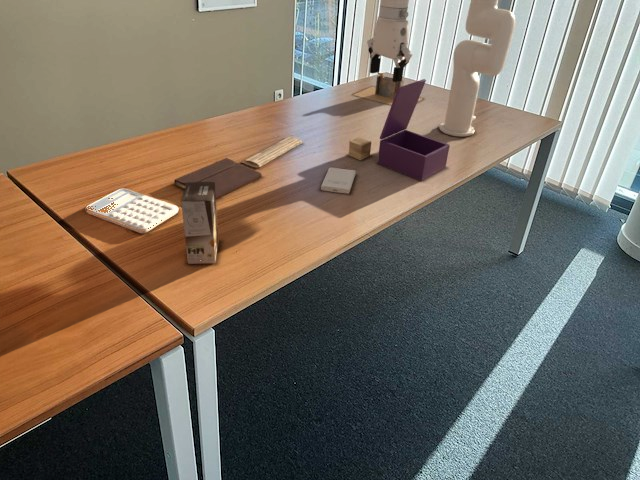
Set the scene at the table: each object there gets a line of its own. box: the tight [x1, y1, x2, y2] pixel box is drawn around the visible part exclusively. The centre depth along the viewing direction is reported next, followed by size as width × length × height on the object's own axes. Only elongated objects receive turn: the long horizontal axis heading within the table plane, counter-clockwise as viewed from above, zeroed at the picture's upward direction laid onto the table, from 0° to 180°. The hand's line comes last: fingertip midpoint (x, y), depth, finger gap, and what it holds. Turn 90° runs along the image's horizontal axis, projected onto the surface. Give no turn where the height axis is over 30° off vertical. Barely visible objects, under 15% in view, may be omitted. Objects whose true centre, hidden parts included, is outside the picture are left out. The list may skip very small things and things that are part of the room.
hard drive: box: [320, 167, 357, 194], centre depth 155 cm, size 2×8×12 cm
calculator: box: [85, 188, 179, 234], centre depth 135 cm, size 13×20×2 cm, turn 62°
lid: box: [379, 78, 427, 140], centre depth 161 cm, size 17×14×1 cm
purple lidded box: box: [377, 129, 451, 182], centre depth 165 cm, size 17×14×8 cm
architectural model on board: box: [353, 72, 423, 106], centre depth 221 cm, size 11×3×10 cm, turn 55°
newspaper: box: [241, 136, 303, 169], centre depth 170 cm, size 24×7×2 cm, turn 148°
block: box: [348, 136, 372, 161], centre depth 170 cm, size 5×5×5 cm
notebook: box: [174, 157, 263, 200], centre depth 152 cm, size 15×20×2 cm
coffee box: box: [180, 182, 220, 265], centre depth 118 cm, size 9×6×16 cm
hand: (385, 76), depth 152 cm, fingers open, 9 cm apart
